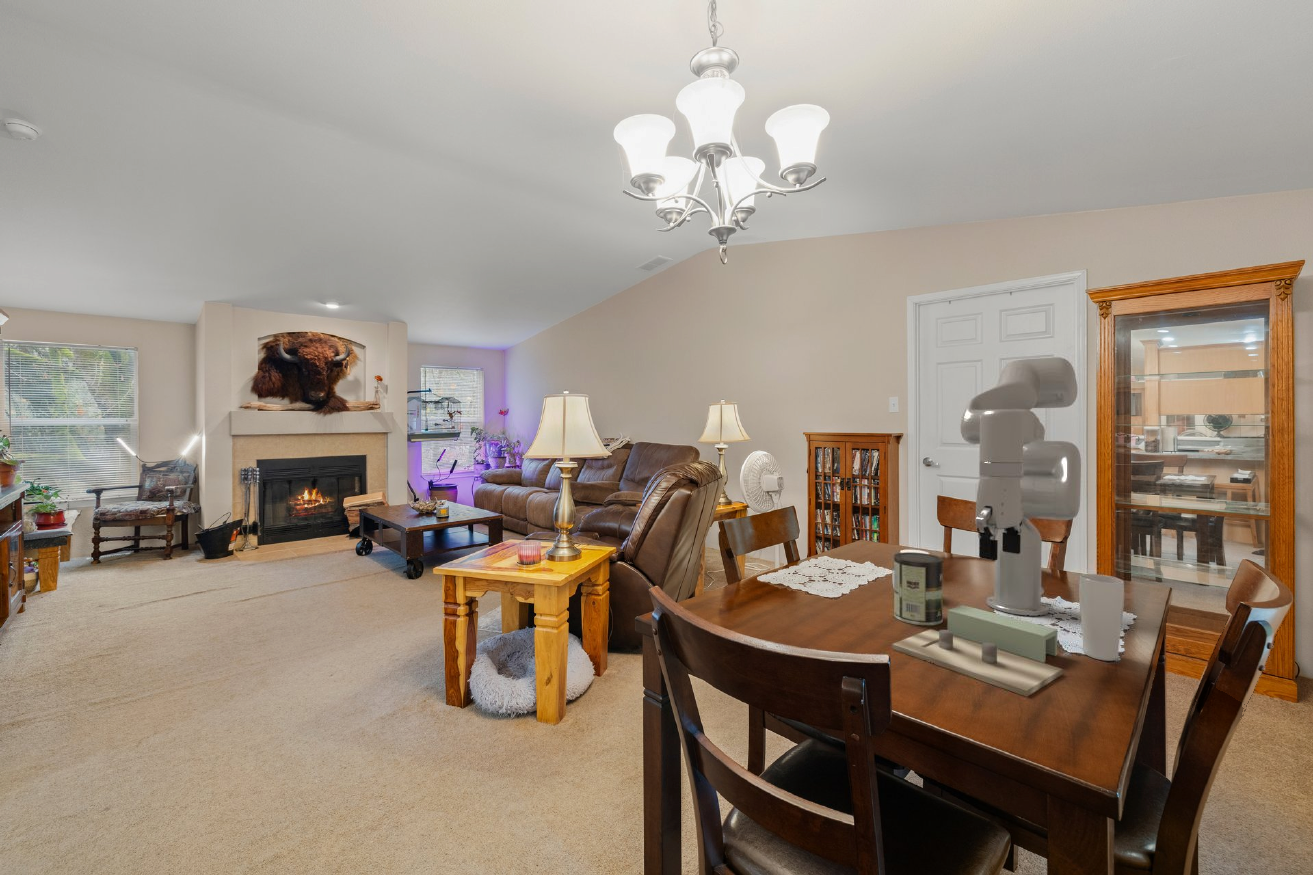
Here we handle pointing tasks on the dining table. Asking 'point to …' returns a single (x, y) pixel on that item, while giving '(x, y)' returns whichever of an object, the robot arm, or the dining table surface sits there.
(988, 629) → the long sage green beam
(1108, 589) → the drinking glass
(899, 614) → the coffee can
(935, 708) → the dining table surface
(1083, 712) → the dining table surface
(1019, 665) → the board
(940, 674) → the dining table surface
